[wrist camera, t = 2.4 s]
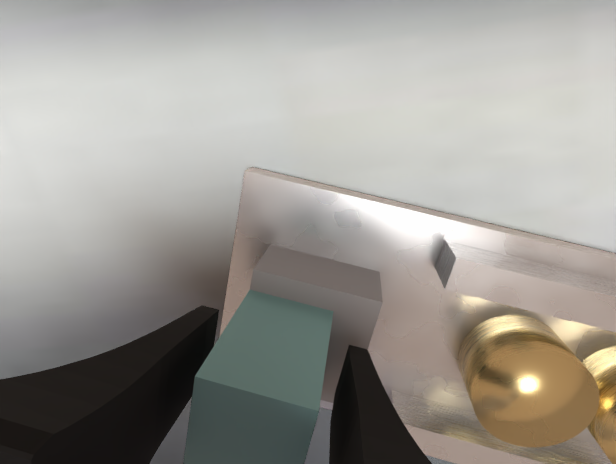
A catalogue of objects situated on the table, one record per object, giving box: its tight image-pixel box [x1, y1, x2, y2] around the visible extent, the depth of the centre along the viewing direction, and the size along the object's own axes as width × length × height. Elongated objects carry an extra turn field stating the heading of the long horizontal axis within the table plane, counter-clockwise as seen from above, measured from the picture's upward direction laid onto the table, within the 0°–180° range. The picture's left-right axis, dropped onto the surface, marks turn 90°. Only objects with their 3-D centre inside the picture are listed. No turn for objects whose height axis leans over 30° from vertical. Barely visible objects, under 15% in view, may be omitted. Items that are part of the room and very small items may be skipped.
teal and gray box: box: [183, 244, 383, 464], centre depth 12 cm, size 5×4×7 cm
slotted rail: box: [219, 167, 616, 464], centre depth 15 cm, size 10×19×3 cm, turn 78°
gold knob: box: [458, 315, 600, 447], centre depth 14 cm, size 4×4×2 cm
